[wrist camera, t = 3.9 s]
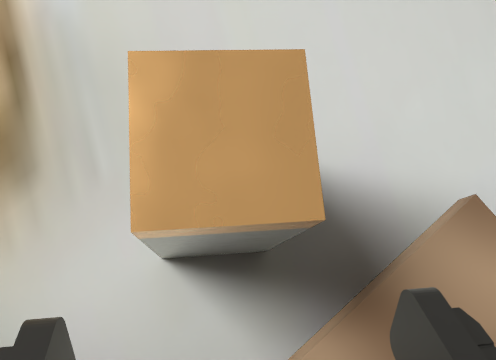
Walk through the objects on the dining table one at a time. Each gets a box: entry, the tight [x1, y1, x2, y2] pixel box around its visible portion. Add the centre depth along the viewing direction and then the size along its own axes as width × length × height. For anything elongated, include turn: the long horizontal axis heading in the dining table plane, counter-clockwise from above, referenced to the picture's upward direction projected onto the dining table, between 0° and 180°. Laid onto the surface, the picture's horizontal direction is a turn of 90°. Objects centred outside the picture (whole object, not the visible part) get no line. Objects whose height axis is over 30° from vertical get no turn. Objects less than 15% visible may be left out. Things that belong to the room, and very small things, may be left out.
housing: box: [128, 49, 325, 259], centre depth 16 cm, size 5×5×10 cm
